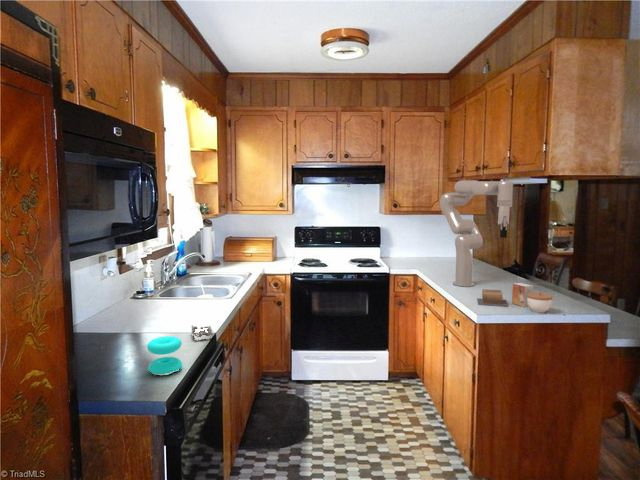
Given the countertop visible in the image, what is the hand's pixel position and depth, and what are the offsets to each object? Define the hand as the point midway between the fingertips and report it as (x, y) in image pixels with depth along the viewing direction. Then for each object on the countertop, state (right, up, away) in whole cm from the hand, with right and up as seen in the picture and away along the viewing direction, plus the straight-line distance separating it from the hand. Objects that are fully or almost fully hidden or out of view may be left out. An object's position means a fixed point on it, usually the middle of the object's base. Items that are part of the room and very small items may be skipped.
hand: (503, 237), depth 235 cm
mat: (-13, -34, -16) cm, 40 cm away
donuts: (-150, -43, -102) cm, 186 cm away
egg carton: (-147, -40, -68) cm, 167 cm away
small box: (+1, -34, -20) cm, 40 cm away
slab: (-10, -30, -9) cm, 33 cm away
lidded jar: (+3, -36, -32) cm, 48 cm away
